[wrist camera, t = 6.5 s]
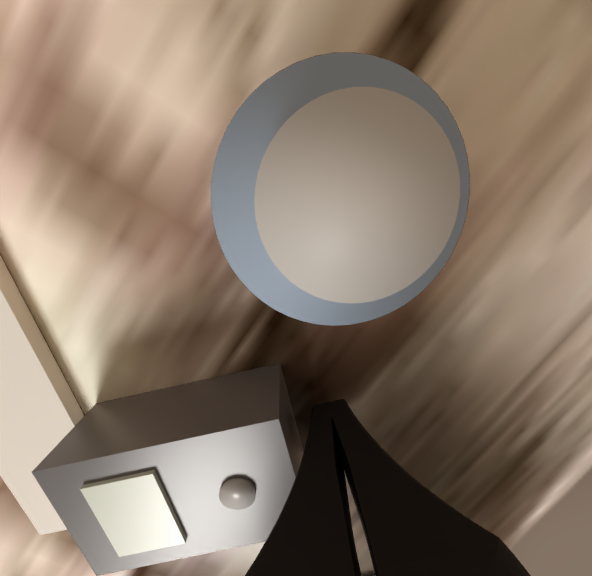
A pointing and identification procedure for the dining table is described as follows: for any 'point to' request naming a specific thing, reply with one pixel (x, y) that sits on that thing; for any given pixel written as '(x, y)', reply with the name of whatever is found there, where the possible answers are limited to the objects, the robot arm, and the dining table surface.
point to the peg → (340, 189)
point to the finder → (176, 470)
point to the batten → (29, 405)
